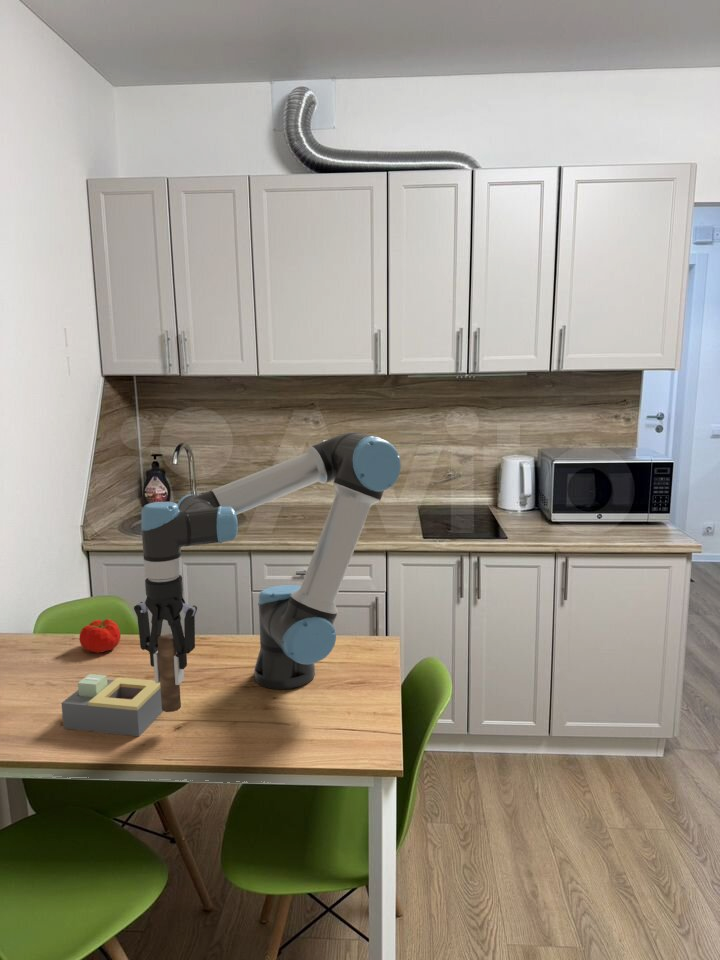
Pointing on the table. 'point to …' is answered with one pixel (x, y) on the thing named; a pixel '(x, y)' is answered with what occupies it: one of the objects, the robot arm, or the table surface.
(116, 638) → the tomato
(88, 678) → the on button
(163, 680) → the rounded rod
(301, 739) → the table surface
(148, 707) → the breaker box
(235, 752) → the table surface
